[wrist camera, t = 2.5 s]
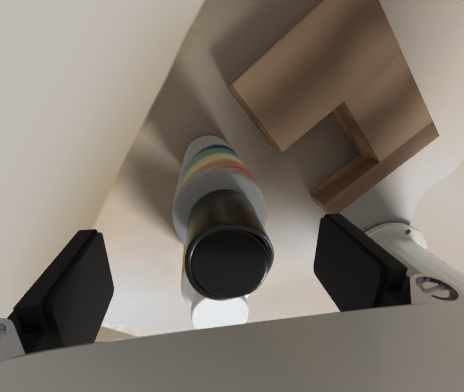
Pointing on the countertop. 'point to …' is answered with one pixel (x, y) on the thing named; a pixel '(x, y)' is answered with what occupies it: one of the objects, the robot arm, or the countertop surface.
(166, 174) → the countertop surface
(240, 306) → the supplement bottle
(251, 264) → the lotion bottle
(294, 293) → the countertop surface
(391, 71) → the notched wooden block
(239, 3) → the countertop surface
